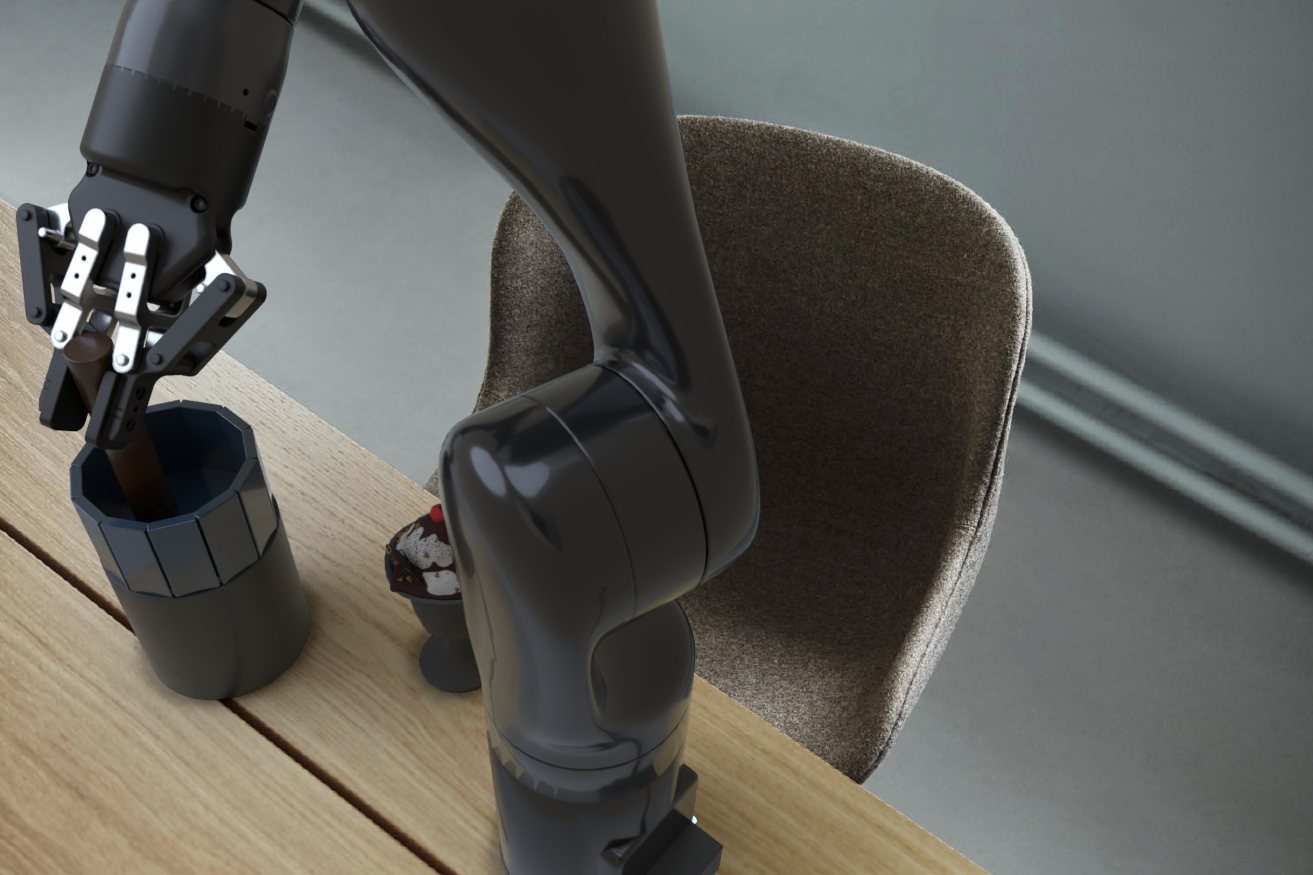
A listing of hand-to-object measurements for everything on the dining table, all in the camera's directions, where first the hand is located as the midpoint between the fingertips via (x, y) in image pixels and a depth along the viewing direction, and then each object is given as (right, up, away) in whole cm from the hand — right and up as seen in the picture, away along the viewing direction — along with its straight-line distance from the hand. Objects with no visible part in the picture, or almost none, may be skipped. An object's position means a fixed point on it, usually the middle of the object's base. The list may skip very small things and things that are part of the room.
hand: (83, 436), depth 55 cm
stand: (+1, -12, +16) cm, 20 cm away
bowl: (+2, -5, +9) cm, 10 cm away
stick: (+1, -4, +7) cm, 8 cm away
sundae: (+15, -14, +16) cm, 26 cm away
